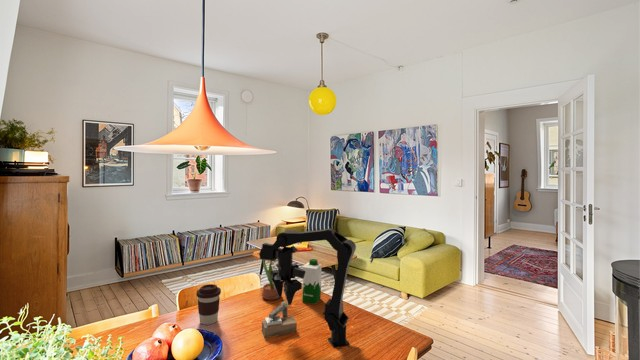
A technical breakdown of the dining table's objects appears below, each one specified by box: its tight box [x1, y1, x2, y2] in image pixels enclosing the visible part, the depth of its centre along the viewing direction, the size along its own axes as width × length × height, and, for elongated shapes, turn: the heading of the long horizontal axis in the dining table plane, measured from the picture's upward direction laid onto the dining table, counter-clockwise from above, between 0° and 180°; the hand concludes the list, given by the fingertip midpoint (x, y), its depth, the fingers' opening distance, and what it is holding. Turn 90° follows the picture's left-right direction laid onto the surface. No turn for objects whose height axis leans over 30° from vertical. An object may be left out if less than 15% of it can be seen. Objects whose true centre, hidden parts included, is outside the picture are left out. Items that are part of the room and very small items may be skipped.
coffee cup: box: [195, 283, 222, 326], centre depth 140 cm, size 10×10×15 cm
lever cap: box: [264, 315, 282, 326], centre depth 131 cm, size 4×6×2 cm
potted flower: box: [261, 260, 280, 301], centre depth 167 cm, size 12×10×25 cm
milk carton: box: [301, 258, 323, 305], centre depth 163 cm, size 9×9×20 cm
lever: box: [268, 300, 290, 319], centre depth 136 cm, size 14×4×2 cm, turn 158°
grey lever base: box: [261, 308, 298, 339], centre depth 135 cm, size 12×13×6 cm
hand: (284, 300), depth 131 cm, fingers open, 9 cm apart
